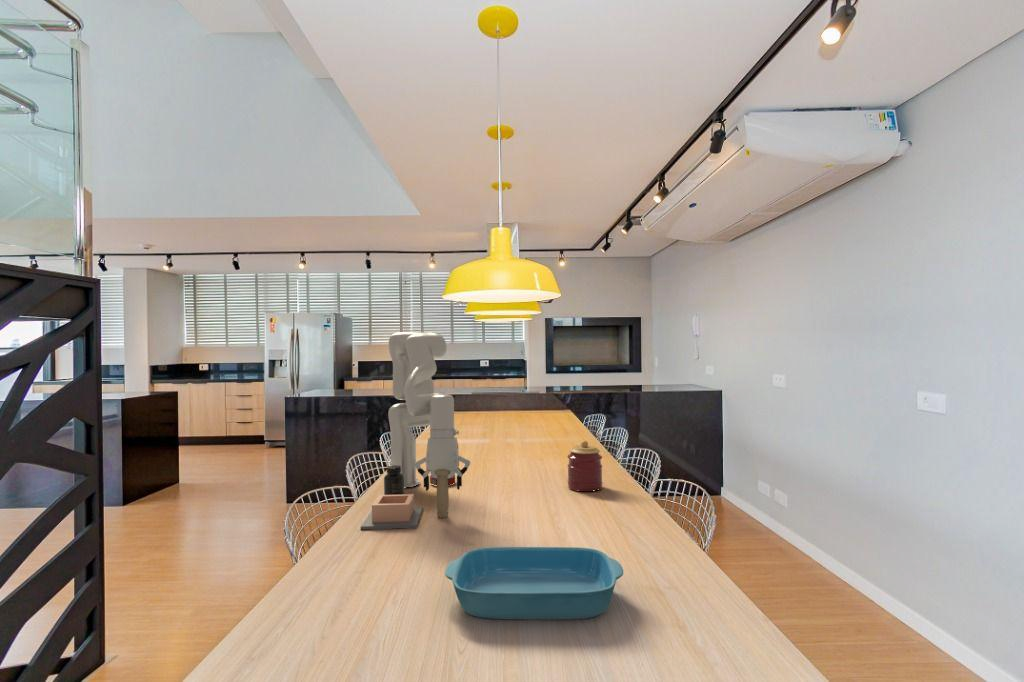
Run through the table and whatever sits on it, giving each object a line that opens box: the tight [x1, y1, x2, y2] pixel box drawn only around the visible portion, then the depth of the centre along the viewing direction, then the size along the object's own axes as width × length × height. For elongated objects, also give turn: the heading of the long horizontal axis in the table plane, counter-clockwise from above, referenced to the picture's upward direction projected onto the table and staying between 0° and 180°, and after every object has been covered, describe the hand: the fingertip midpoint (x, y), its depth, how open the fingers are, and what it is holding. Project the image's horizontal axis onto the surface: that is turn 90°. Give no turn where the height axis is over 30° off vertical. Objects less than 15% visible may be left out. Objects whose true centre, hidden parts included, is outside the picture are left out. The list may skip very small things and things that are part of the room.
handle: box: [434, 470, 450, 519], centre depth 161 cm, size 5×6×15 cm
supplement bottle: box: [383, 465, 405, 495], centre depth 178 cm, size 7×7×12 cm
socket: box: [360, 493, 424, 530], centre depth 159 cm, size 18×16×6 cm
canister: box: [566, 440, 604, 492], centre depth 193 cm, size 13×13×18 cm
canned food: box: [429, 471, 457, 485], centre depth 202 cm, size 11×10×10 cm
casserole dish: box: [444, 546, 624, 620], centre depth 107 cm, size 37×22×7 cm, turn 87°
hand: (442, 489), depth 161 cm, fingers open, 9 cm apart
